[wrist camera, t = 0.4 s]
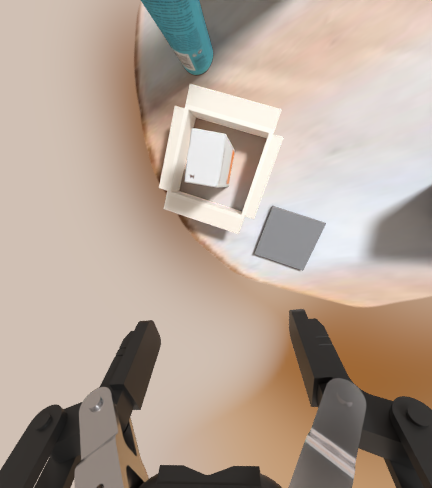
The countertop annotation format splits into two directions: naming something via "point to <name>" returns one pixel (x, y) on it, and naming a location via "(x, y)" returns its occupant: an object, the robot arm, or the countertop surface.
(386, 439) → the robot arm
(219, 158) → the skincare box
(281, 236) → the coaster
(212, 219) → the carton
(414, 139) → the countertop surface
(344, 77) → the countertop surface
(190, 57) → the tube
